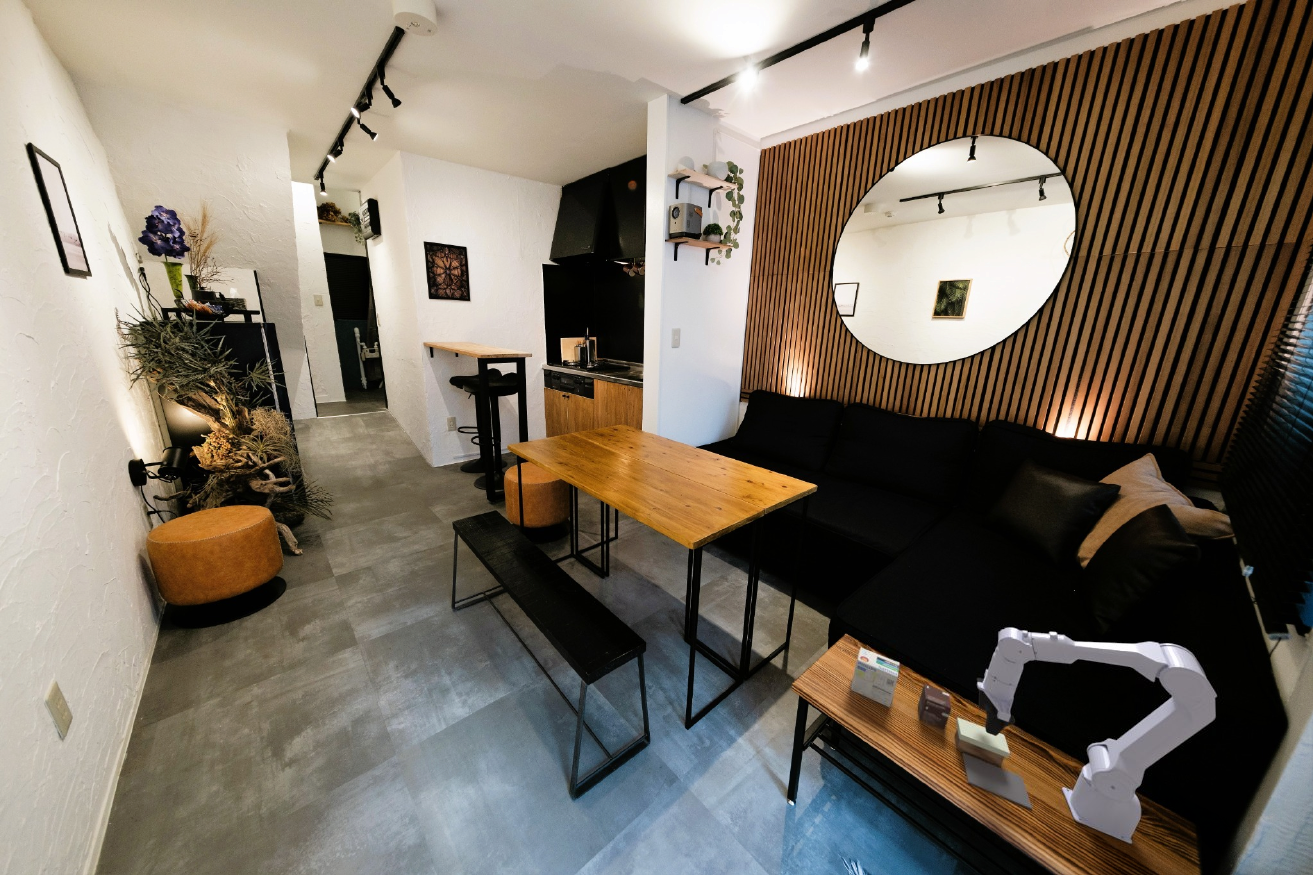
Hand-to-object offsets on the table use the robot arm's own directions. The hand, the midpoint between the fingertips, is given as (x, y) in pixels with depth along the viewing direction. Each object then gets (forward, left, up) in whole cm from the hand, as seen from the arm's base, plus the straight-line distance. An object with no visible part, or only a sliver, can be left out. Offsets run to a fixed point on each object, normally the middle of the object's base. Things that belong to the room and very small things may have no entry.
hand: (987, 720), depth 108 cm
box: (+10, -6, -10) cm, 15 cm away
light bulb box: (+25, -7, -10) cm, 27 cm away
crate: (0, 0, -10) cm, 10 cm away
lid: (0, 0, -6) cm, 6 cm away
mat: (-2, +7, -10) cm, 12 cm away
